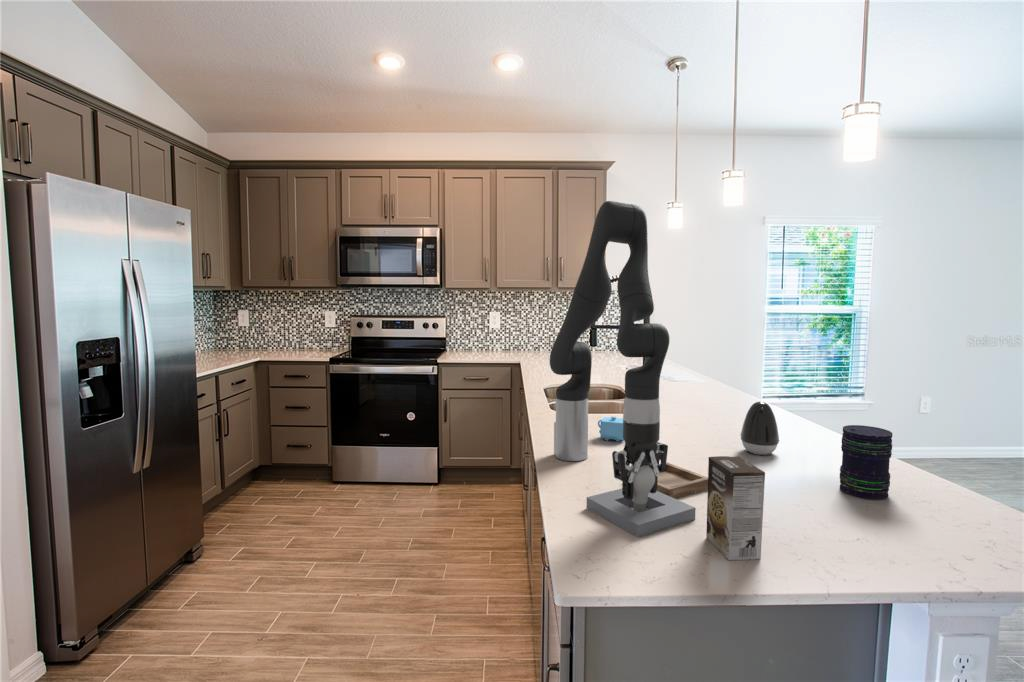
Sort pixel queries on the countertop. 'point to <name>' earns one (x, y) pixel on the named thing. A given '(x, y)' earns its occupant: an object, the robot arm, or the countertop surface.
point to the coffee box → (735, 507)
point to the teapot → (611, 428)
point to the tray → (680, 481)
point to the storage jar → (865, 462)
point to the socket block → (641, 523)
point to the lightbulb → (642, 487)
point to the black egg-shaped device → (760, 430)
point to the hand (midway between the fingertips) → (639, 495)
